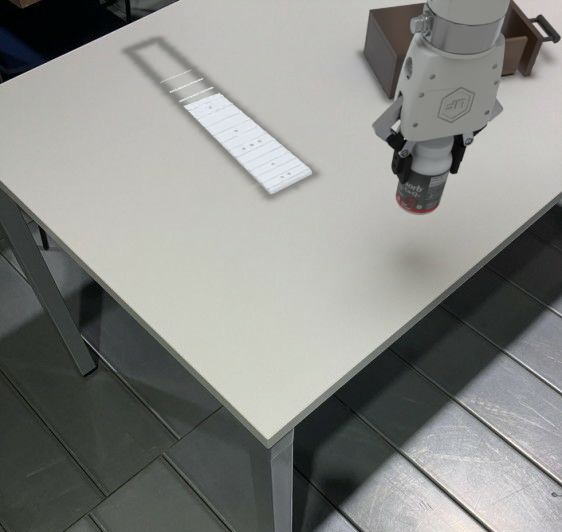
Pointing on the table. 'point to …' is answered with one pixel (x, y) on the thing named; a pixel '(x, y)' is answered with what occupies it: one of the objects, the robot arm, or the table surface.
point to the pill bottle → (426, 176)
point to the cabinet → (389, 42)
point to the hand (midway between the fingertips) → (424, 170)
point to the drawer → (523, 40)
